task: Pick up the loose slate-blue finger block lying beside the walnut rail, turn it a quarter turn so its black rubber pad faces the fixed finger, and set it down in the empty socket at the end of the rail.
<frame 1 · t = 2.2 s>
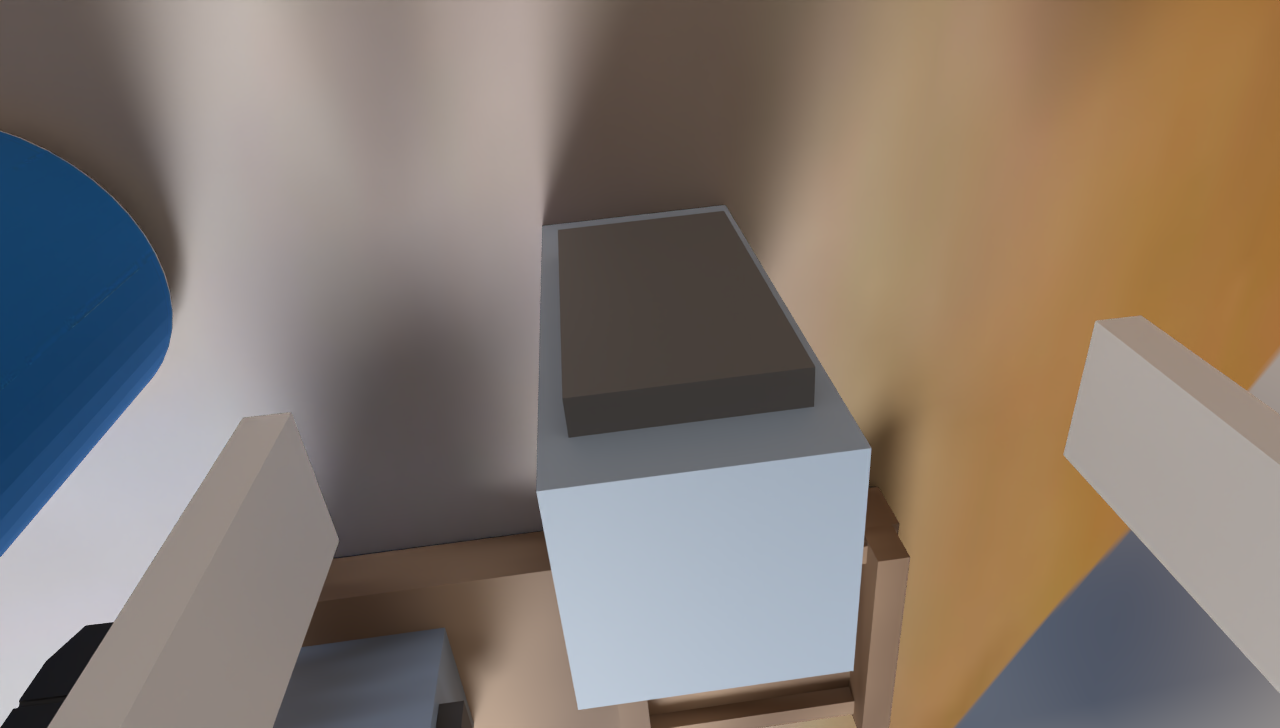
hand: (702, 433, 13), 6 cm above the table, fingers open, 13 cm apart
beverage can: (24, 265, 16), on the table
rail: (568, 620, 23), on the table
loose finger: (641, 298, 18), on the table
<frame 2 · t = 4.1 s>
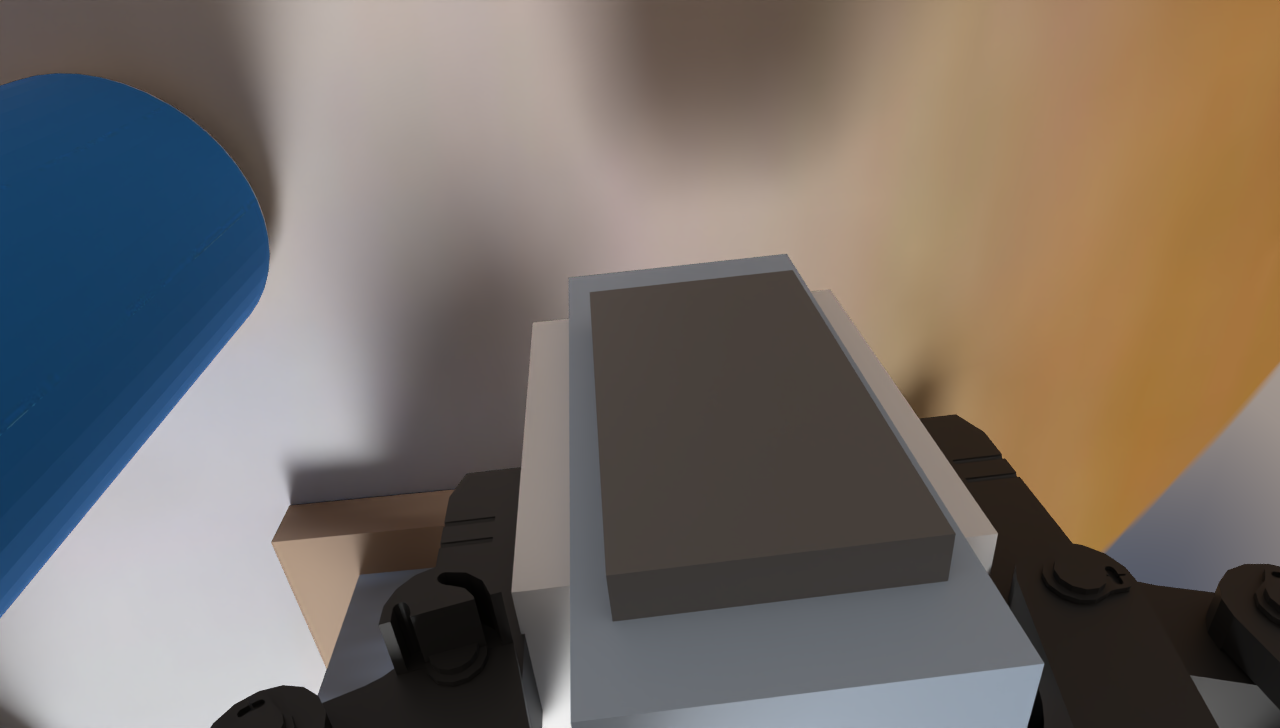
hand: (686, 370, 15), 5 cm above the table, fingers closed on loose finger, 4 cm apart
beverage can: (139, 211, 18), on the table
rail: (613, 563, 24), on the table
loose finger: (684, 360, 15), point 5 cm above the table, touching gripper
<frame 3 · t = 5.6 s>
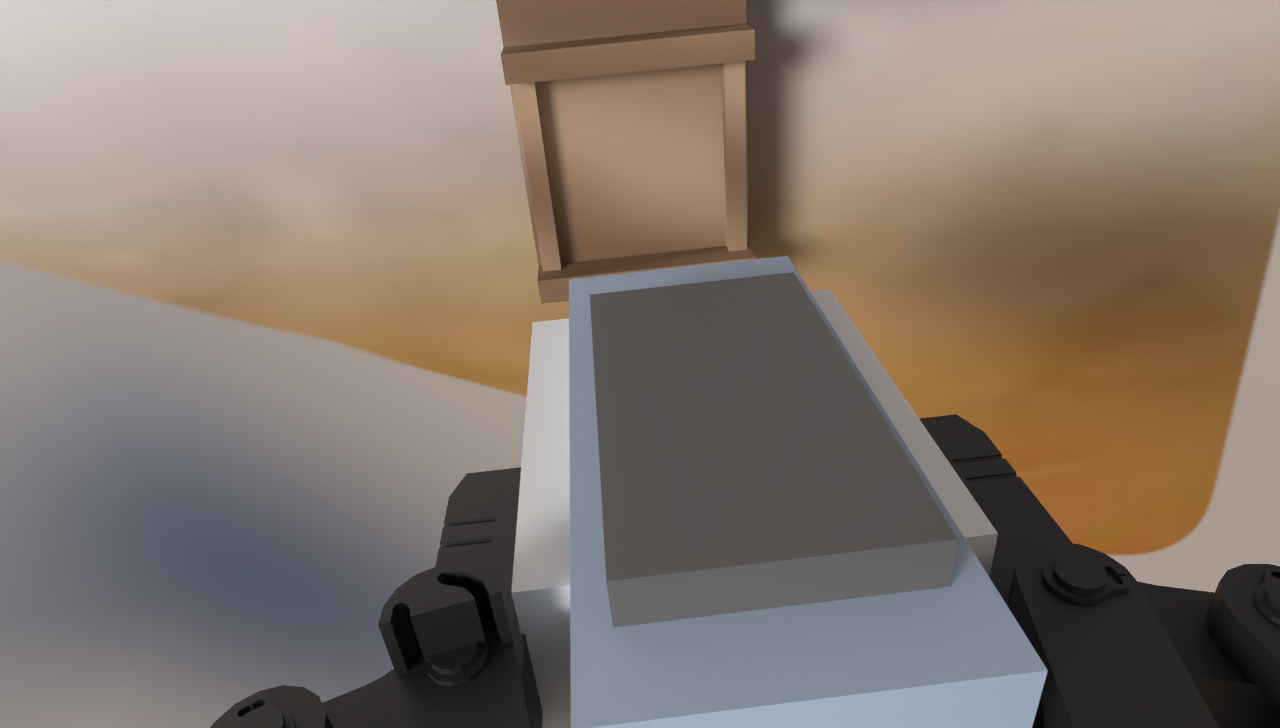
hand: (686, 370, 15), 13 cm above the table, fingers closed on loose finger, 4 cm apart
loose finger: (684, 362, 15), point 13 cm above the table, touching gripper
when the fingers open (3 cm above the table, at t = 7.1 s): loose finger stays where it is, resting on rail.
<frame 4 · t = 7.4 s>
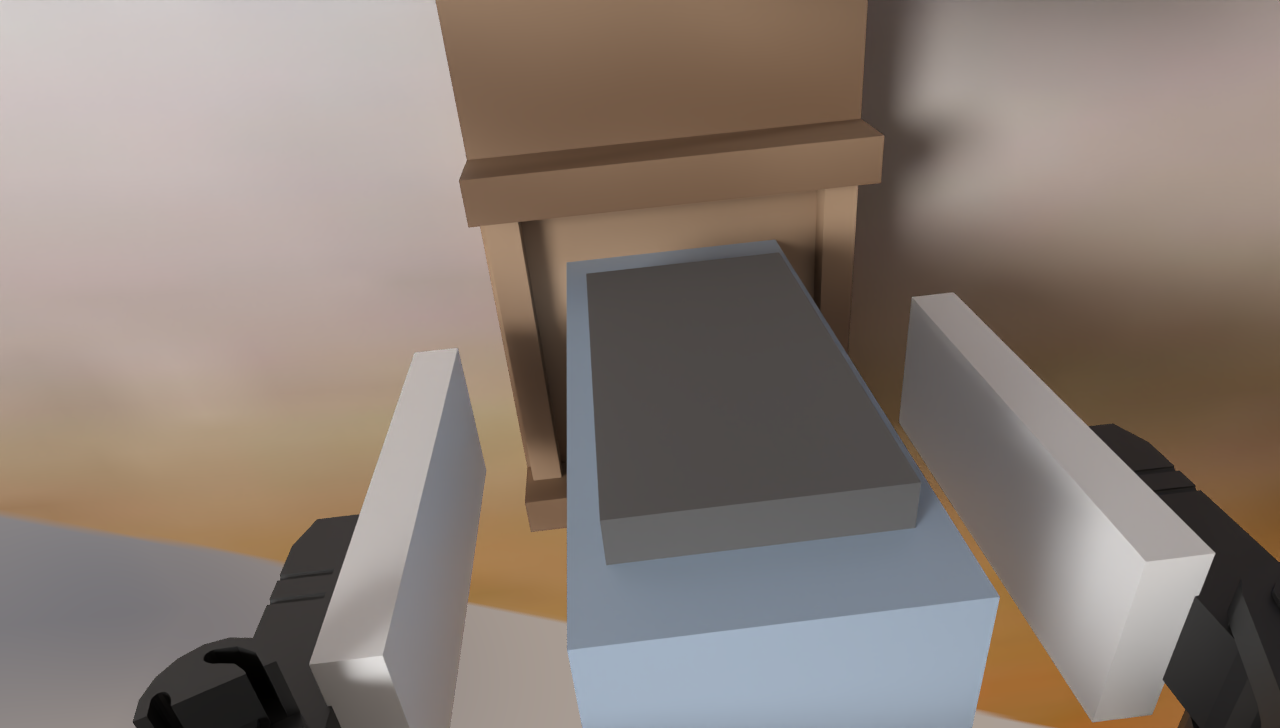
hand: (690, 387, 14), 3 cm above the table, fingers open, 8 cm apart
rail: (652, 53, 15), on the table
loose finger: (677, 342, 16), point 1 cm above the table, touching rail
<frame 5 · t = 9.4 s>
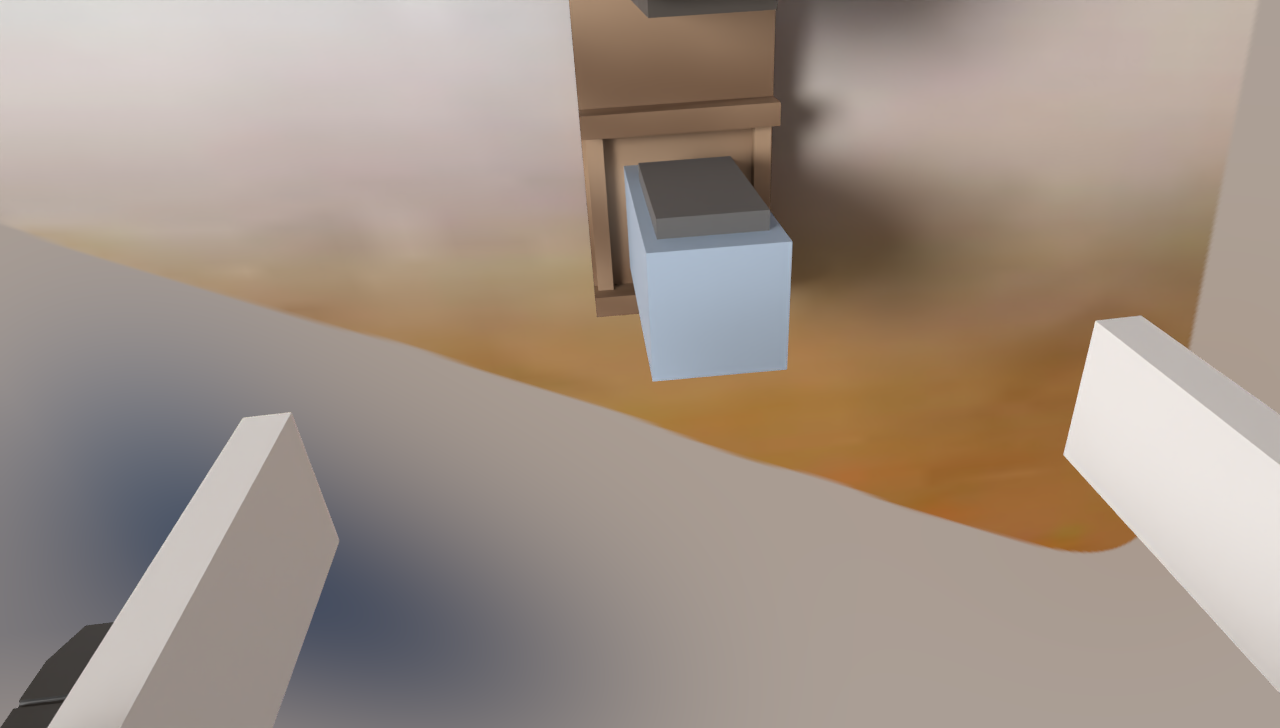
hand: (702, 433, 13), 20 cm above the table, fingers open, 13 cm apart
rail: (670, 61, 29), on the table
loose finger: (679, 214, 30), point 1 cm above the table, touching rail
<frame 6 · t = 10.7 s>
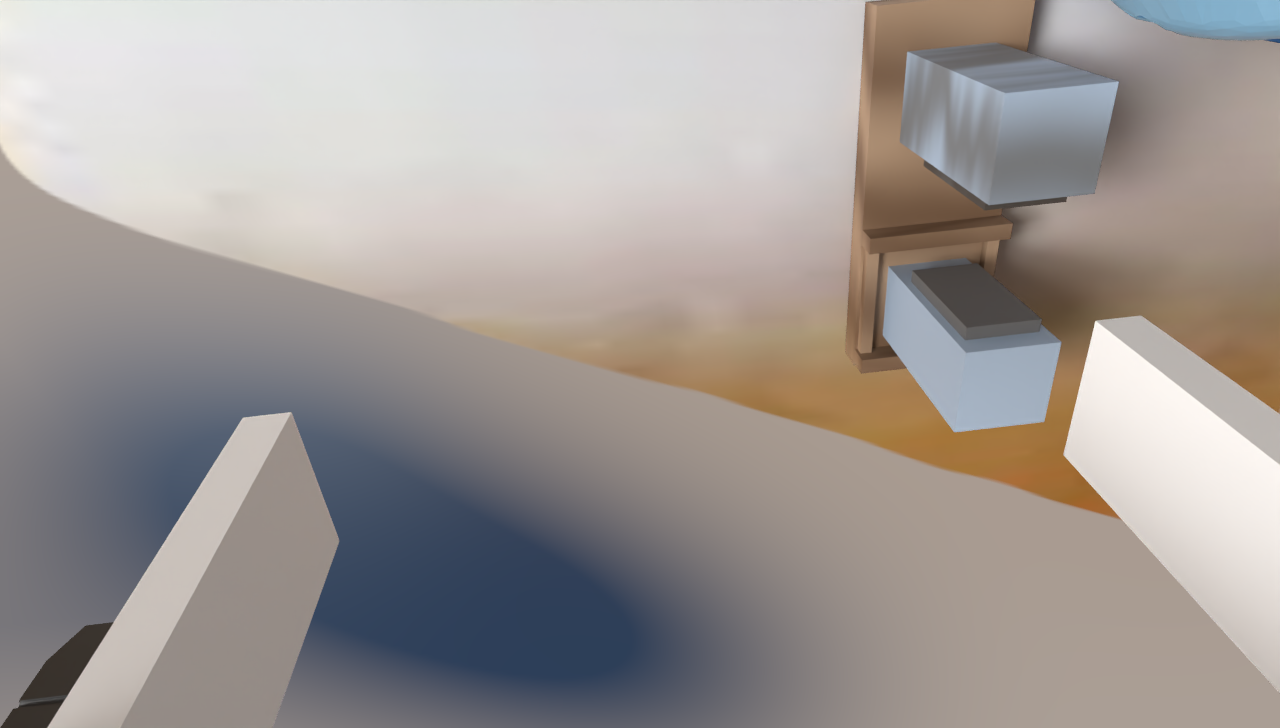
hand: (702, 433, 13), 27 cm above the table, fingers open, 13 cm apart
rail: (922, 189, 40), on the table
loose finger: (923, 297, 41), point 1 cm above the table, touching rail
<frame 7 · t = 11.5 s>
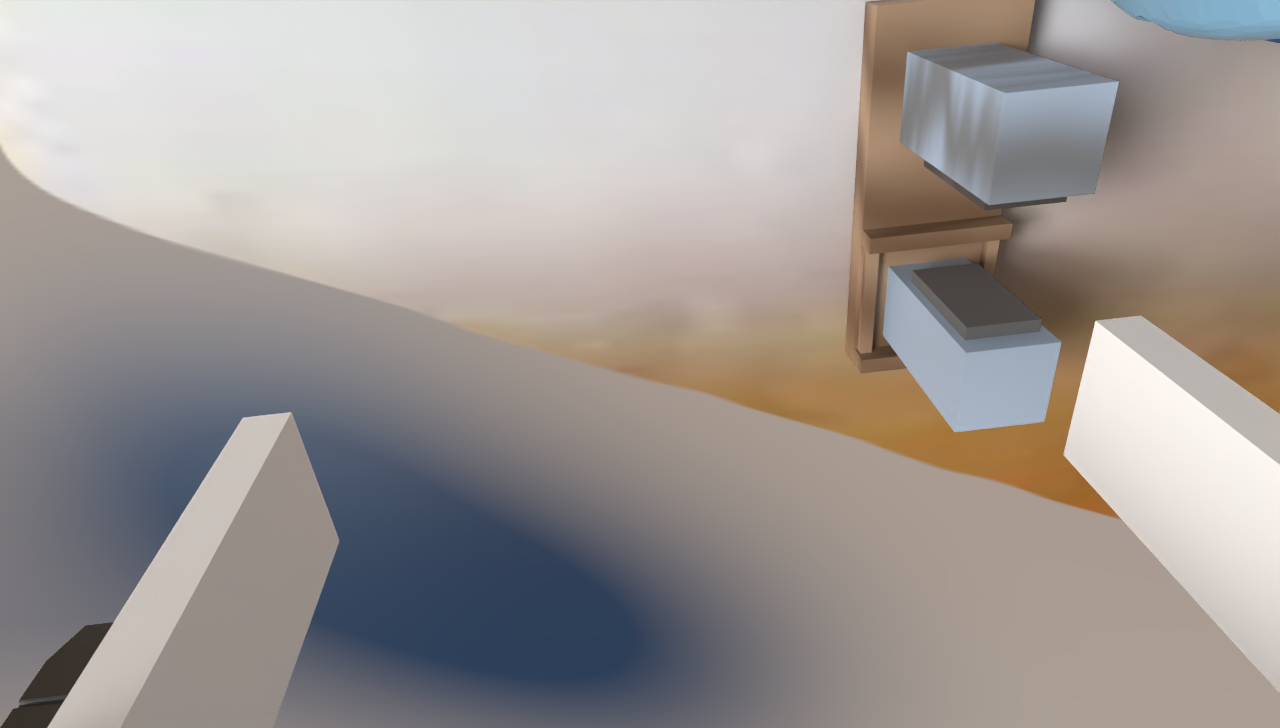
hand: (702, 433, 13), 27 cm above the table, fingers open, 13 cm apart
rail: (922, 189, 40), on the table
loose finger: (923, 297, 41), point 1 cm above the table, touching rail
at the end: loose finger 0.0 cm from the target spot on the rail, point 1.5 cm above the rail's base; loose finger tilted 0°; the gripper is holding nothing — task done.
